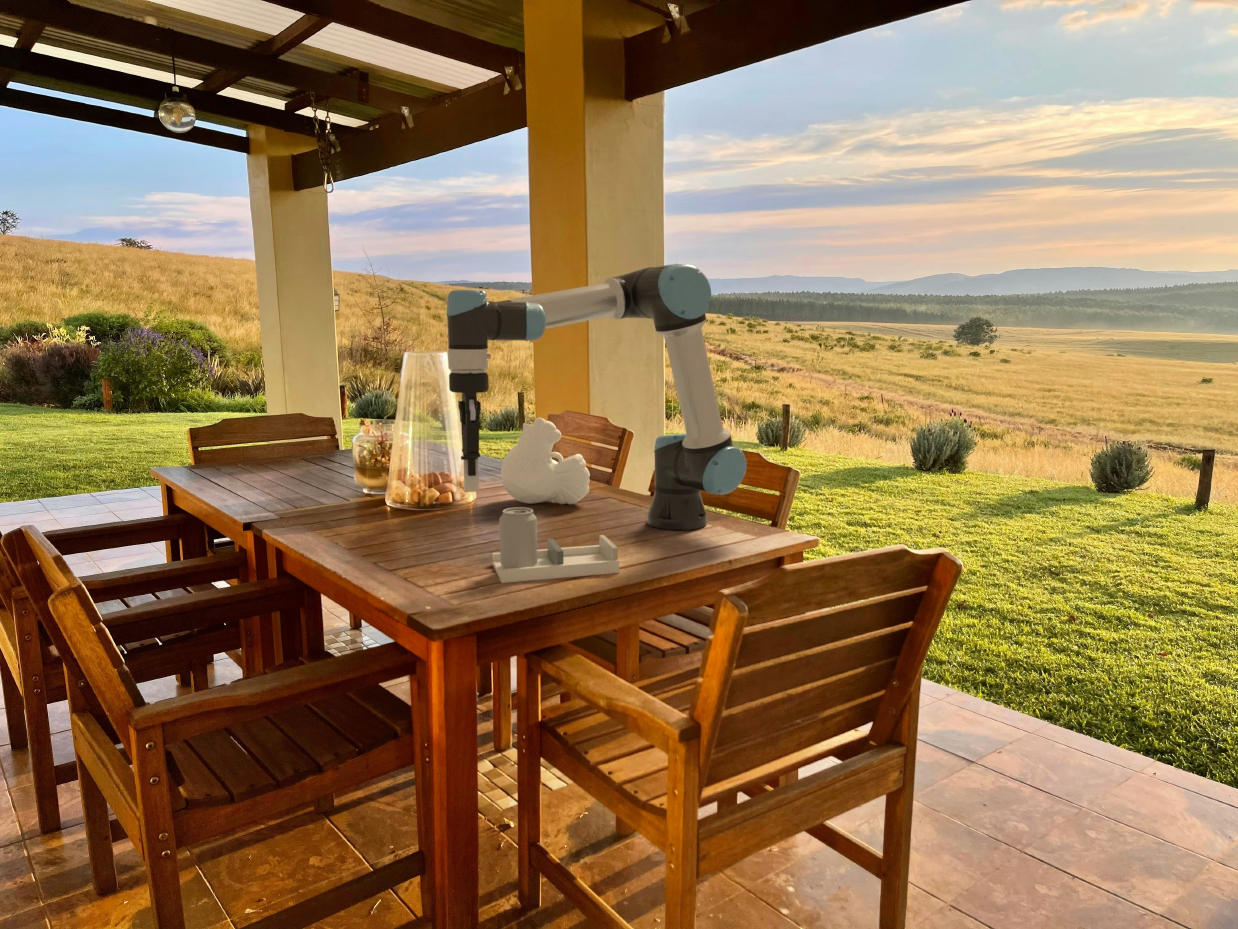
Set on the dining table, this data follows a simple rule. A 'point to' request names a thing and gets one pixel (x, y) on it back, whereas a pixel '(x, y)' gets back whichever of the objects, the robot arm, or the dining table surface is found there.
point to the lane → (565, 563)
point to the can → (518, 538)
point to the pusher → (554, 552)
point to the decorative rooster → (543, 468)
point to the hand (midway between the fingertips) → (471, 490)
